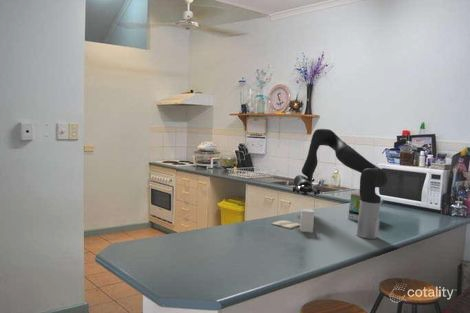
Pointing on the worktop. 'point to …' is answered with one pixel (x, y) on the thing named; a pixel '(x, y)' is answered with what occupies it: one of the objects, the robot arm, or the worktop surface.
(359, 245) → the worktop surface
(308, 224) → the white rectangular block
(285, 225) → the cork mat
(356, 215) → the tea box
